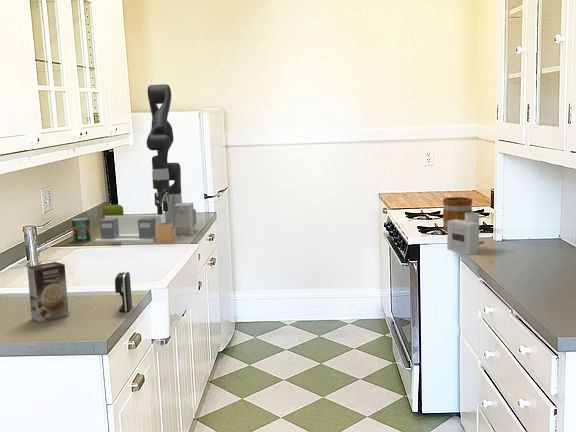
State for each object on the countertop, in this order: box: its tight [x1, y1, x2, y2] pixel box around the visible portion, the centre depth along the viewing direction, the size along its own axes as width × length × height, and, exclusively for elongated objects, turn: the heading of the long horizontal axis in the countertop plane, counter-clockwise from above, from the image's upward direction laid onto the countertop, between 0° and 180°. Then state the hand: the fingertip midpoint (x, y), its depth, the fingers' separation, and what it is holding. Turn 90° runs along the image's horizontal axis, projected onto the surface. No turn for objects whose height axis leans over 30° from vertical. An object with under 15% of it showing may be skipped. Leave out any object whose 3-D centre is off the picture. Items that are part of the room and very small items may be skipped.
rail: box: [97, 235, 156, 239], centre depth 304 cm, size 4×27×1 cm, turn 84°
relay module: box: [155, 222, 174, 243], centre depth 300 cm, size 5×7×8 cm
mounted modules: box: [99, 218, 156, 238], centre depth 304 cm, size 6×25×8 cm, turn 84°
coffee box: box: [26, 261, 70, 323], centre depth 192 cm, size 9×6×16 cm
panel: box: [94, 214, 162, 243], centre depth 306 cm, size 15×28×10 cm, turn 84°
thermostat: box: [446, 212, 485, 256], centre depth 262 cm, size 12×14×15 cm
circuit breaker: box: [174, 202, 197, 237], centre depth 315 cm, size 8×14×15 cm, turn 174°
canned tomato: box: [71, 217, 92, 244], centre depth 303 cm, size 8×8×11 cm
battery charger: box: [114, 271, 133, 313], centre depth 198 cm, size 7×4×11 cm, turn 5°
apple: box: [102, 203, 124, 219], centre depth 350 cm, size 11×11×11 cm
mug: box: [442, 196, 473, 233], centre depth 305 cm, size 20×14×15 cm
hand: (162, 212), depth 298 cm, fingers open, 8 cm apart
